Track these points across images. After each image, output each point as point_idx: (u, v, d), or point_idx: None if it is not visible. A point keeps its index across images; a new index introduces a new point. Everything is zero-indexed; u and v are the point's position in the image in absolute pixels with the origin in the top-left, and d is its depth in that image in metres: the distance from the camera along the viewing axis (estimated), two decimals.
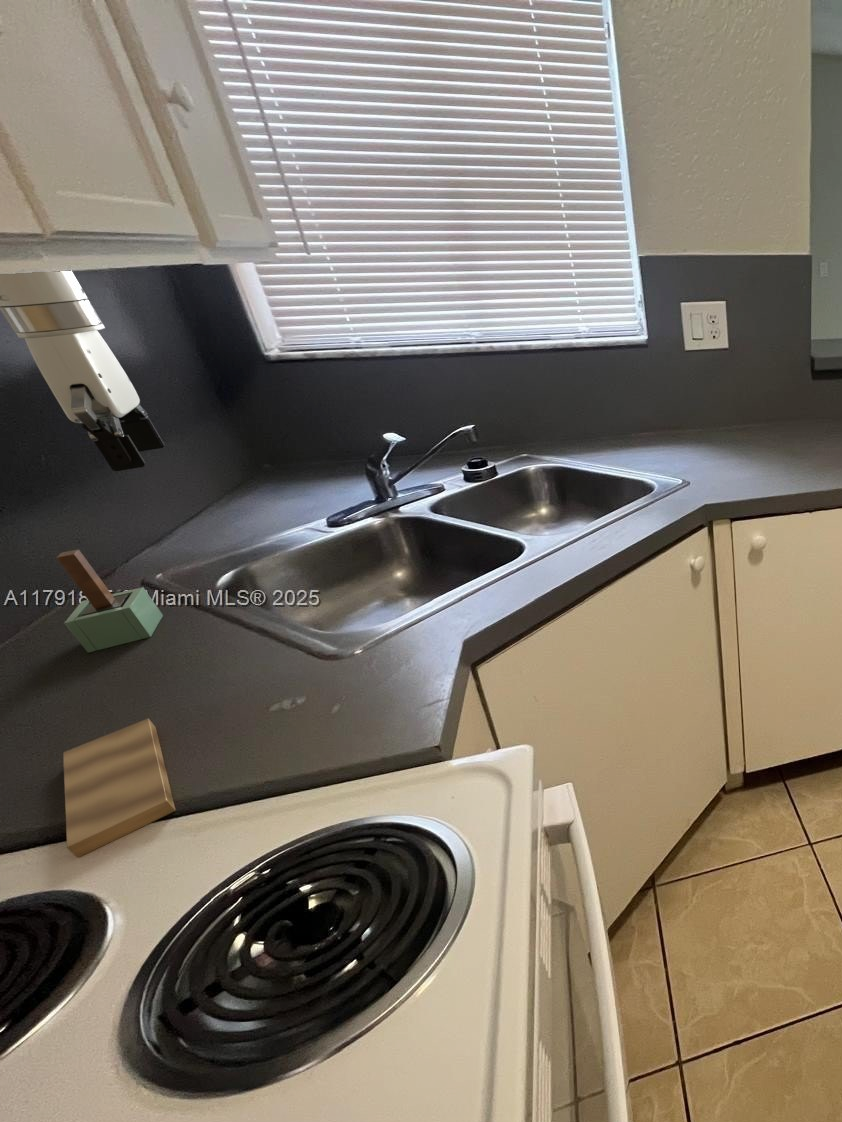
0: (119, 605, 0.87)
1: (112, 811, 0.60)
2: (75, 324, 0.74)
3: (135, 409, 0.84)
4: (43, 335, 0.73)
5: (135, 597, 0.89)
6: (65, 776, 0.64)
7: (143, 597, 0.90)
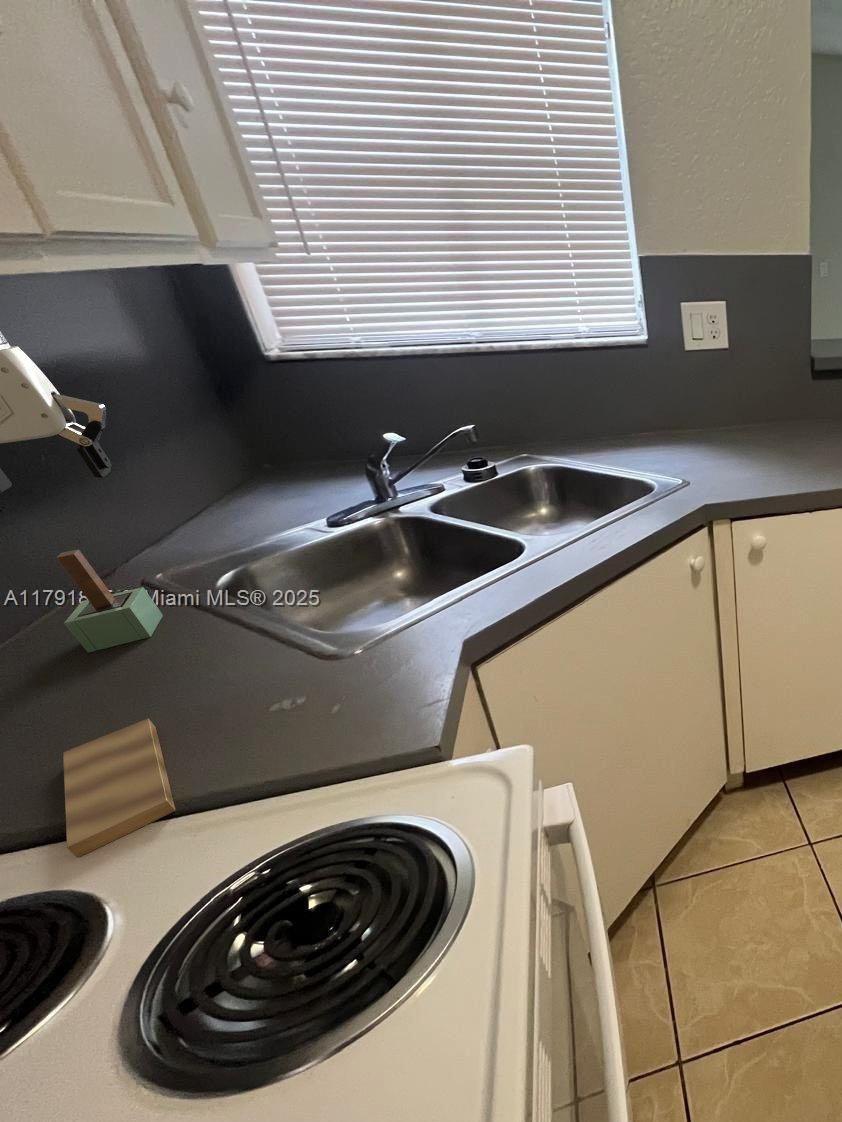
0: (119, 605, 0.87)
1: (112, 811, 0.60)
2: None
3: None
4: (4, 347, 0.73)
5: (135, 597, 0.89)
6: (65, 776, 0.64)
7: (143, 597, 0.90)
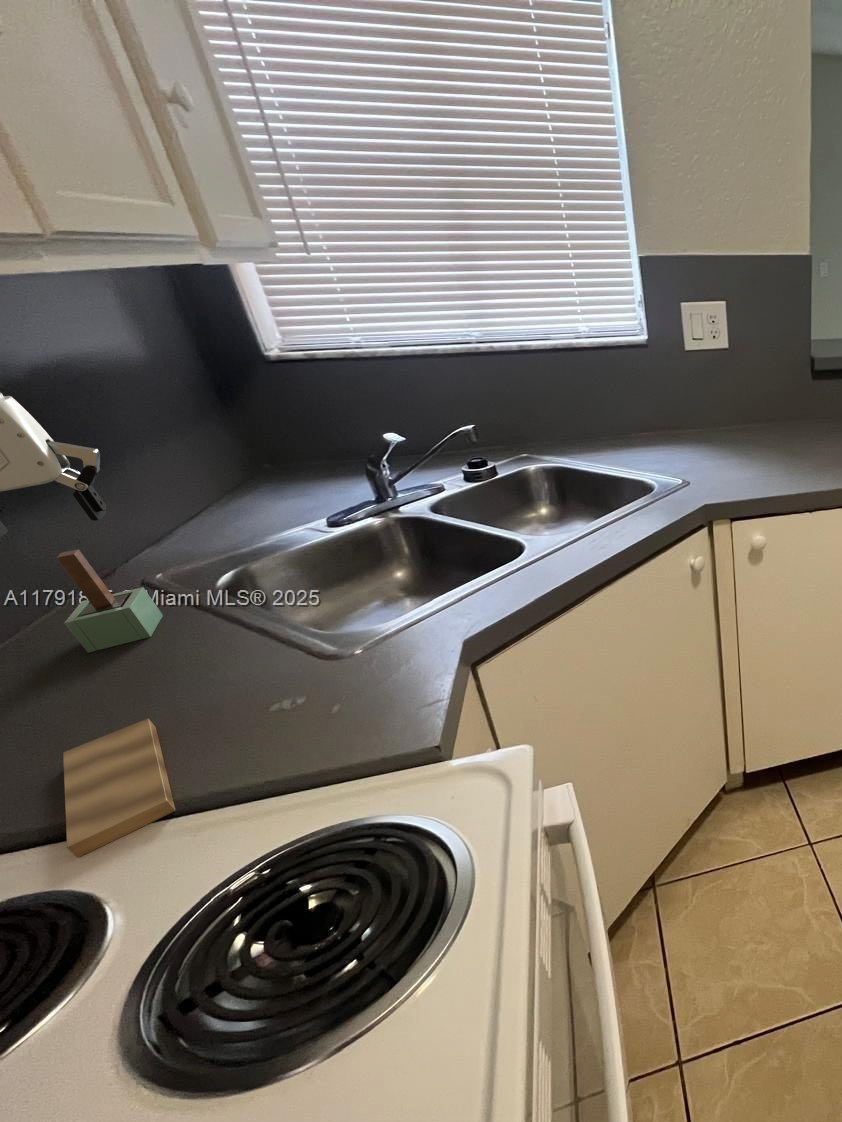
0: (119, 605, 0.87)
1: (112, 811, 0.60)
2: None
3: None
4: None
5: (135, 597, 0.89)
6: (65, 776, 0.64)
7: (143, 597, 0.90)
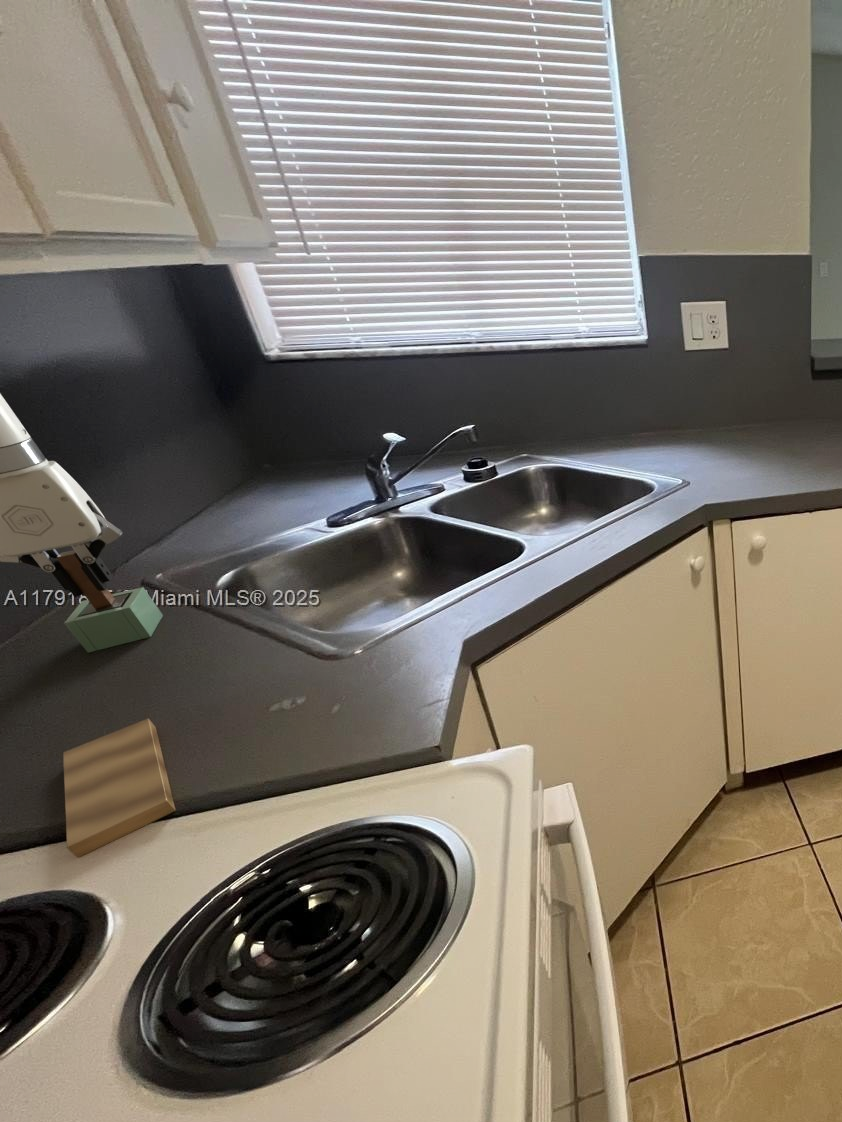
0: (119, 605, 0.87)
1: (112, 811, 0.60)
2: None
3: None
4: (43, 465, 0.78)
5: (135, 597, 0.89)
6: (65, 776, 0.64)
7: (143, 597, 0.90)
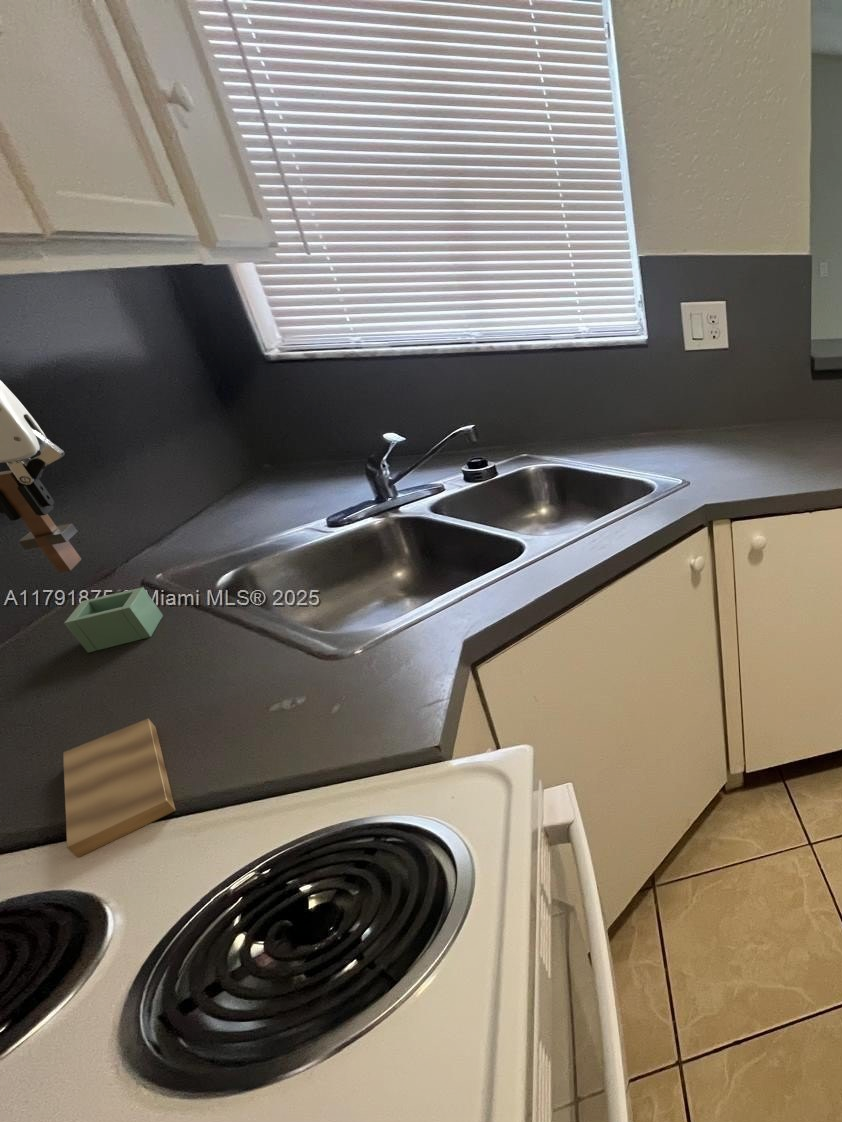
0: (60, 533, 0.81)
1: (112, 811, 0.60)
2: None
3: None
4: None
5: (135, 597, 0.89)
6: (65, 776, 0.64)
7: (143, 597, 0.90)
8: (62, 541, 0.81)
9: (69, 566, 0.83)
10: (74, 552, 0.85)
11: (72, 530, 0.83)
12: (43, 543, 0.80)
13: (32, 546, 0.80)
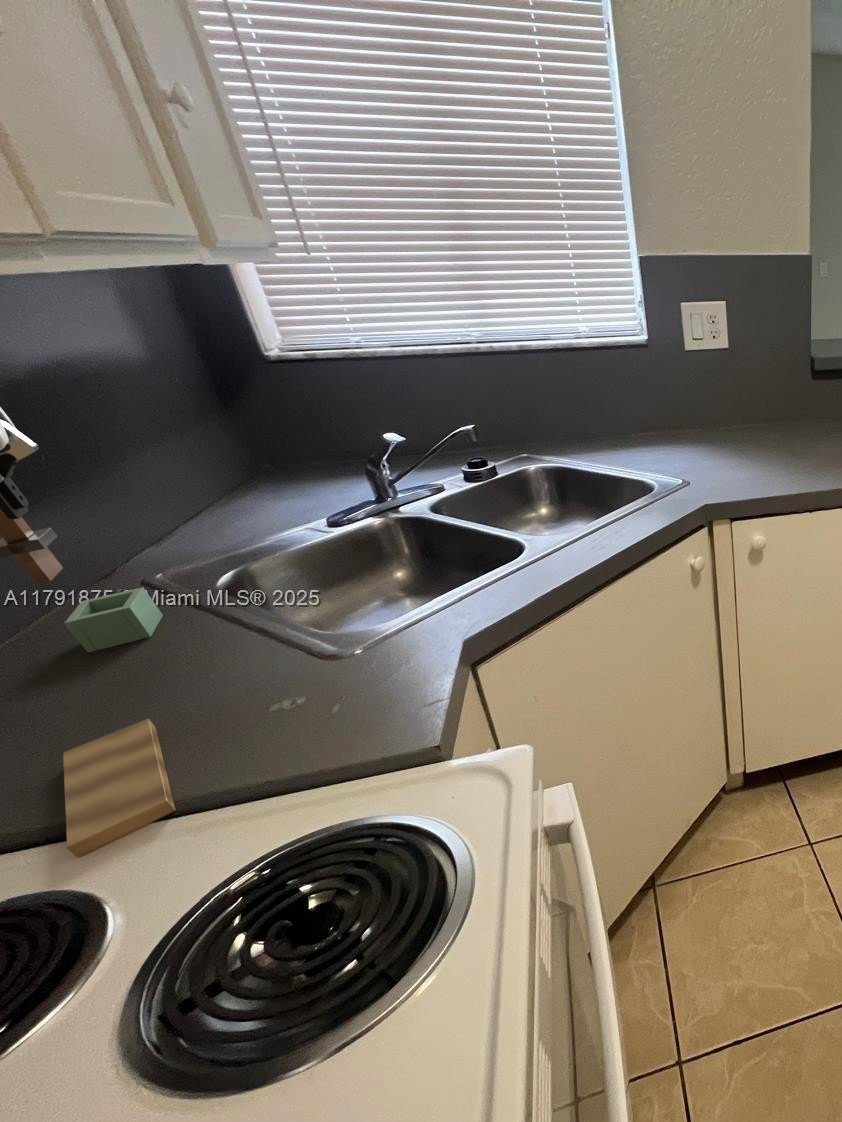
0: (37, 538, 0.71)
1: (112, 811, 0.60)
2: None
3: None
4: None
5: (135, 597, 0.89)
6: (65, 776, 0.64)
7: (143, 597, 0.90)
8: (39, 548, 0.71)
9: (49, 576, 0.73)
10: (54, 560, 0.74)
11: (51, 535, 0.73)
12: (18, 550, 0.70)
13: (5, 554, 0.70)
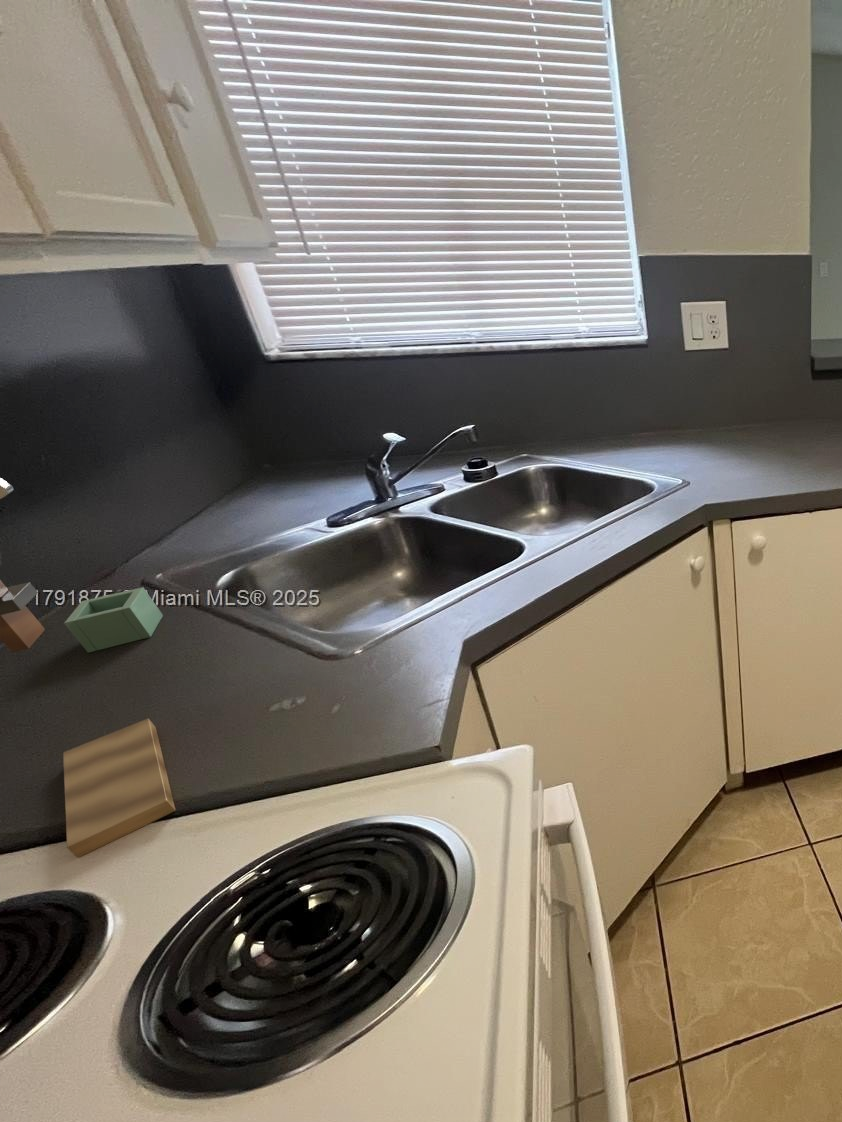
0: (12, 598, 0.58)
1: (112, 811, 0.60)
2: None
3: None
4: None
5: (135, 597, 0.89)
6: (65, 776, 0.64)
7: (143, 597, 0.90)
8: (14, 610, 0.58)
9: (27, 642, 0.60)
10: (34, 621, 0.62)
11: (30, 592, 0.60)
12: None
13: None
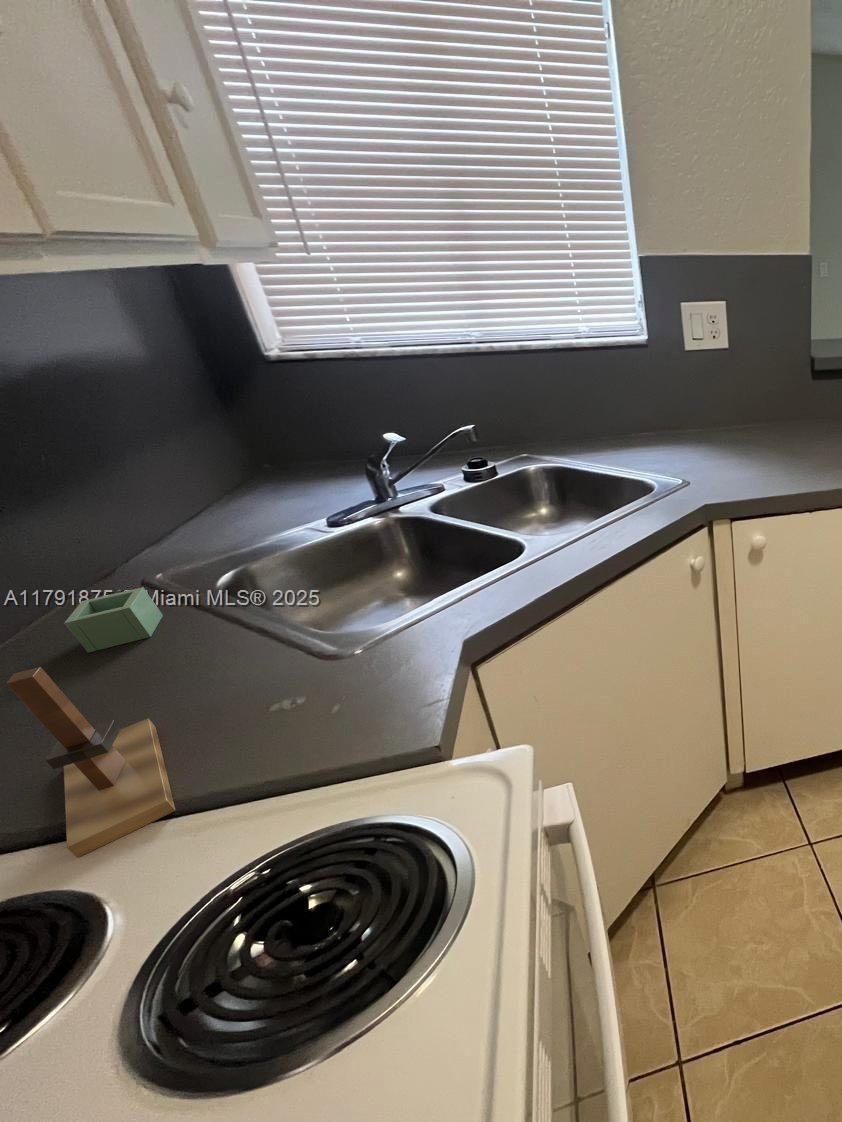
0: (100, 742, 0.61)
1: (112, 811, 0.60)
2: None
3: None
4: None
5: (135, 597, 0.89)
6: (65, 776, 0.64)
7: (143, 597, 0.90)
8: (102, 752, 0.61)
9: (112, 779, 0.63)
10: (117, 755, 0.64)
11: (115, 730, 0.63)
12: (78, 758, 0.60)
13: (64, 763, 0.60)
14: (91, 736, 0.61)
